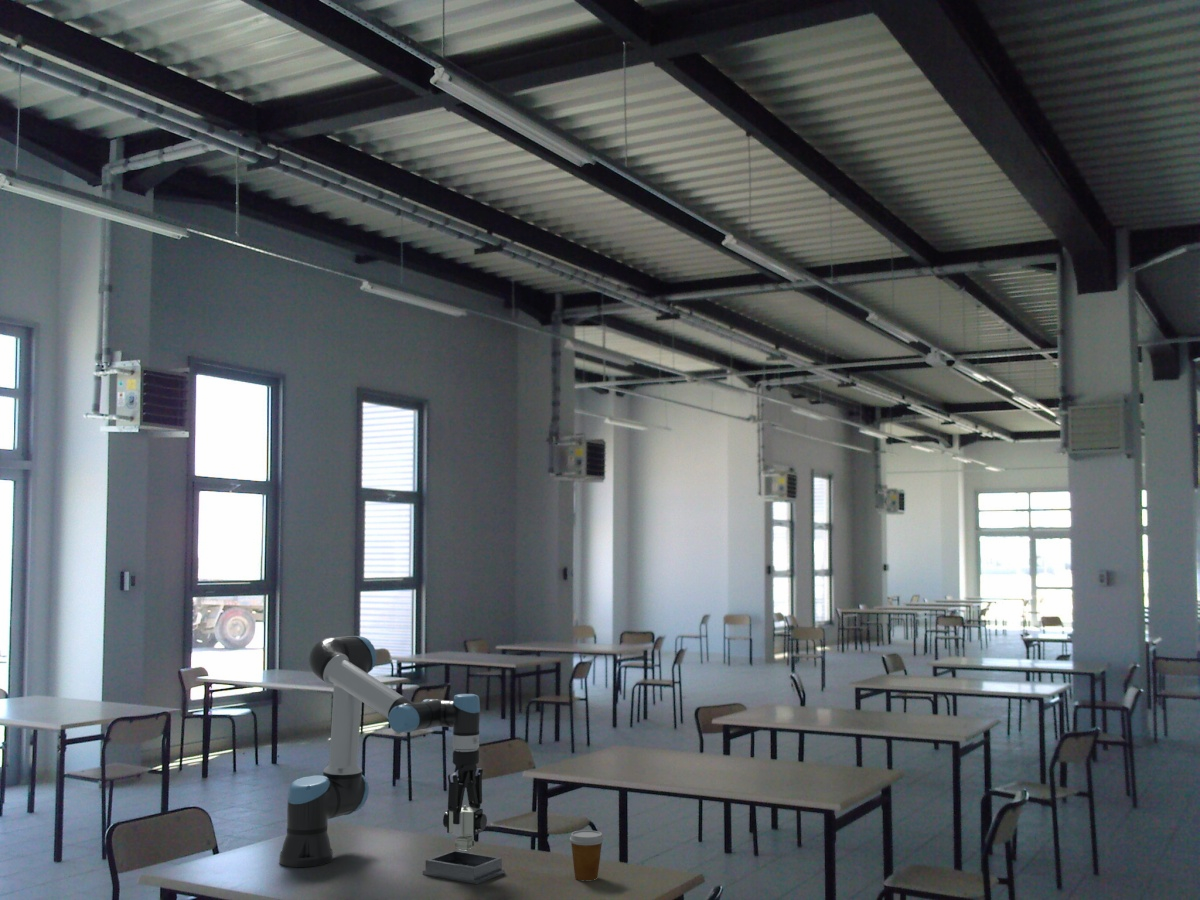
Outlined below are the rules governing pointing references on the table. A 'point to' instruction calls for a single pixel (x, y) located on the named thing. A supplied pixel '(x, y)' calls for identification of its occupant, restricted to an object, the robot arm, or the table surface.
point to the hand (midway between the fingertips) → (464, 833)
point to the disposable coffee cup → (586, 853)
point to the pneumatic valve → (466, 826)
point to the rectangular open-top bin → (464, 867)
